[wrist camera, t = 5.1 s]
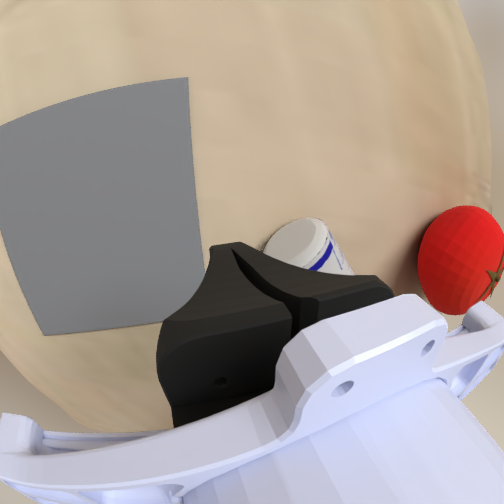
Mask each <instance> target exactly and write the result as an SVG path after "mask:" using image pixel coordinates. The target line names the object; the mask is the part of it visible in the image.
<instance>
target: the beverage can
mask: <svg viewBox="0 0 504 504" xmlns="http://www.w3.org/2000/svg"><path fill="white" fill-rule="evenodd" d="M263 253H264V254H266V255H269V256H271V257H273V258H275V259H278V260H280V261H283V262H285V263H288V264H291V265H295V266H298V267H301V268H305V269H309V270H314V271H319V272H325V273H332V274H342V275H354V273H353V271H352V269H351V267H350V266H349V264H348V262H347V260H346V259H345V257H344V255H343V253H342V251H341V250H340V248H339V246H338V245H337V243H336V241H335V239H334V238H333V236H332V234H331V233H330V231H329V229H328V228H327V226H326V224H325V223H324V222H323V221H322V220H320V219H317V218H301V219H298V220H295V221H293V222H290V223H288V224H287V225H285V226H283V227H282V228H281V229H279V230H278V231H277V232H276V233H275V234H274V235H273V236H272V237H271V238H270V240H269V241H268V243H267V244H266V246H265V248H264V251H263Z"/></svg>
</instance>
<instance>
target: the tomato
mask: <svg viewBox="0 0 504 504" xmlns="http://www.w3.org/2000/svg"><path fill="white" fill-rule="evenodd" d="M503 270H504V234H503V231H502V229H501V228H500V226H499V224H498V223H497V222H496V220H495V219H494V218H493V217H492V215H491V214H489V213H488V212H487V211H485V210H484V209H481V208H479V207H475V206H457V207H454V208H452V209H449V210H447V211H445V212H443V213H441V214H440V215H439V216H438V217H437V218H436V219H435V220H434V221H433V222H432V223H431V224H430V226H429V227H428V229H427V230H426V232H425V234H424V237H423V239H422V242H421V245H420V249H419V253H418V277H419V281H420V283H421V286H422V289H423V291H424V293H425V295H426V297H427V299H428V300H429V302H430V304H431V305H432V306H433V307H434V308H435V309H436V310H438V311H440V312H443V313H445V314H448V315H460V314H465V313H466V312H467V311H468V309H469V308H470V307H472V306H473V305H475V304H476V303H478V302H479V301H483V302H484V300H485V299H486V298H487V297H488V296H489V295H490V294H491V295H492V292H493V290H494V288H495V287H496V285H497V284H498V282H499V280H500V278H501V275H502V272H503Z"/></svg>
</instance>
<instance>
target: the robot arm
mask: <svg viewBox="0 0 504 504" xmlns="http://www.w3.org/2000/svg"><path fill="white" fill-rule="evenodd" d="M209 251H210V261H209V265H208V268H207V271H206V273H205V276H204V278H203V280H202V282H201V284H200V286H199V287H198V289H197V290H196V292H195V293H194V295H193V296H192V297H191V299H190V300H189V301H188V302H187V303H186V304H185V305H183V306H182V307H181V308H180V309H179V310H177V311H176V312H174V313H173V314H172V315H170V316H169V317H167V318H166V319H164V321H163V324H162V327H161V331H160V334H159V339H158V345H157V353H156V364H157V374H158V379H159V382H160V384H161V386H162V389H163V391H164V393H165V395H166V397H167V399H168V402H169V404H170V406H171V410H172V418H173V425H174V429H166V430H156V431H145V432H129V433H71V432H56V431H45V430H43V429H42V428H41V427H40V426H39V424H38V423H37V422H36V421H34V420H33V419H32V418H30V417H28V416H24V415H18V414H11V413H2V416H1V420H0V481H2V482H3V483H5V484H6V485H8V486H9V487H11V488H13V489H14V490H16V491H18V492H19V493H21V494H23V495H25V496H26V497H28V498H30V499H32V500H34V501H36V502H38V503H40V504H504V452H503V451H502V449H501V448H500V447H499V446H498V444H497V443H496V442H495V441H494V439H493V438H492V437H491V436H490V435H489V433H488V432H487V431H486V430H485V429H484V427H483V426H482V425H481V424H480V423H479V421H478V420H477V419H476V418H475V417H474V416H473V414H472V413H471V412H470V411H469V410H468V409H467V407H466V406H465V405H464V404H463V403H462V402H461V401H462V399H464V398H465V397H466V396H467V395H468V394H469V393H470V392H471V391H472V390H473V389H474V388H475V387H476V386H477V385H478V384H479V383H480V381H482V379H484V377H486V376H487V374H488V373H489V372H490V371H491V370H492V369H493V368H494V366H495V365H496V363H497V361H498V360H499V358H500V357H501V355H502V354H503V352H504V318H503V317H502V316H501V315H499V314H498V313H497V312H496V311H494V310H493V309H492V308H491V307H489V306H488V305H487V304H486V303H484V302H483V301H479V302H478V303H476V304H475V305H473V306H472V307H470V308H469V309H468V311H467V312H466V314H465V316H464V318H463V321H462V324H461V325H459V326H458V327H456V328H455V329H453V330H452V331H450V332H448V325H447V322H446V320H445V318H444V317H442V316H441V315H440V314H439V313H438V312H437V311H436V310H434V309H433V308H432V307H431V306H430V305H428V304H427V303H426V302H425V301H424V300H422V299H421V298H420V297H419V296H417V295H416V294H402V295H399V296H397V297H394V294H393V291H392V289H391V288H390V287H388V286H387V285H386V284H385V283H384V282H383V281H381V280H380V279H379V278H378V277H377V276H375V275H342V274H332V273H325V272H319V271H314V270H309V269H305V268H301V267H298V266H295V265H291V264H288V263H285V262H283V261H280V260H278V259H275V258H273V257H271V256H269V255H266V254H264V253H262V252H260V251H258V250H256V249H254V248H252V247H250V246H248V245H246V244H244V243H242V242H234V243H228V244H221V245H214V246H211V247H210V249H209ZM447 332H448V333H447Z"/></svg>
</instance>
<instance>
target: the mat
mask: <svg viewBox="0 0 504 504" xmlns="http://www.w3.org/2000/svg"><path fill="white" fill-rule="evenodd" d="M0 230H1V234H2V237H3V240H4V243H5V247H6V250H7V253H8V256H9V258H10V261H11V264H12V267H13V269H14V272H15V275H16V277H17V280H18V282H19V285H20V287H21V289H22V292H23V294H24V296H25V299H26V301H27V303H28V305H29V307H30V309H31V311H32V313H33V315H34V317H35V319H36V321H37V323H38V325H39V327H40V329H41V331H42V333H43V335H55V334H66V333H76V332H86V331H95V330H103V329H111V328H119V327H127V326H134V325H141V324H148V323H155V322H162V321H164V319H166V318H167V317H169V316H170V315H172V314H173V313H174V312H176V311H177V310H179V309H180V308H181V307H182V306H183V305H185V304H186V303H187V302H188V301H189V300H190V299H191V297H192V296H193V295H194V293H195V292H196V290H197V289H198V287H199V286H200V284H201V282H202V280H203V278H204V276H205V269H204V261H203V253H202V245H201V237H200V228H199V219H198V210H197V200H196V190H195V179H194V167H193V155H192V142H191V126H190V109H189V88H188V77H186V78H176V79H167V80H159V81H152V82H145V83H139V84H133V85H128V86H123V87H118V88H113V89H108V90H104V91H100V92H96V93H92V94H88V95H84V96H80V97H77V98H73V99H70V100H67V101H64V102H60V103H57V104H54V105H51V106H48V107H46V108H43V109H40V110H37V111H35V112H32V113H30V114H27V115H25V116H22V117H20V118H17V119H15V120H13V121H10V122H8V123H6V124H4V125H2V126H0Z"/></svg>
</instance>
